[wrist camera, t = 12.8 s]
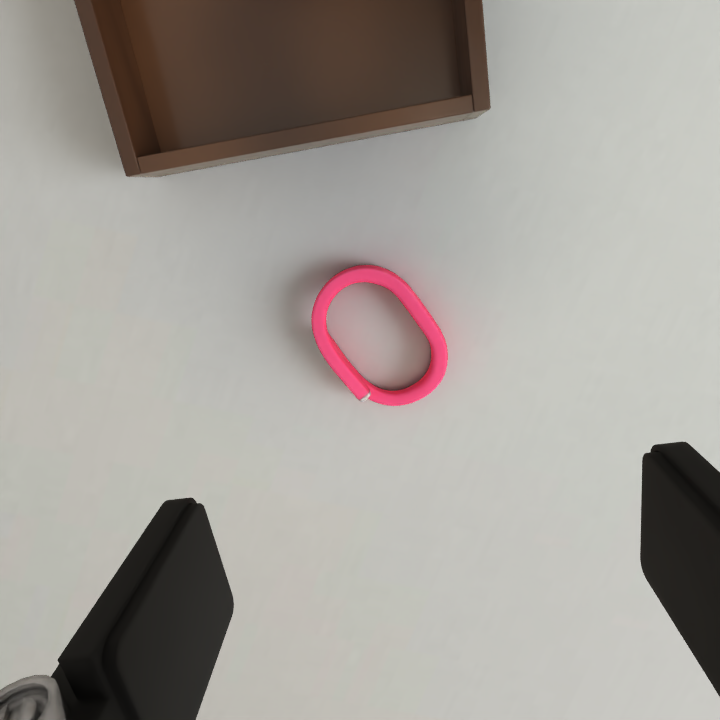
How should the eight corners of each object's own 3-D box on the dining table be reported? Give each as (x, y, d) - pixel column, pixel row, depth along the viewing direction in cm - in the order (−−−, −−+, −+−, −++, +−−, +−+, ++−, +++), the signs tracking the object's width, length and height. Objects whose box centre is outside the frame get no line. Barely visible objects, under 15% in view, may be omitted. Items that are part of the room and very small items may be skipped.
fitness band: (290, 307, 28) (285, 313, 26) (378, 240, 26) (378, 244, 25) (380, 418, 30) (380, 430, 28) (466, 361, 28) (470, 371, 27)
